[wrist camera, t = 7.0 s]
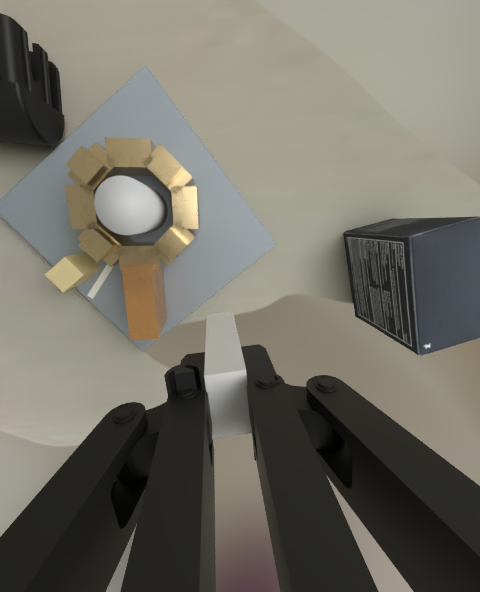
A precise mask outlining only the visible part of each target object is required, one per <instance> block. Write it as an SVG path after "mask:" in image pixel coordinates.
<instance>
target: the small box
mask: <svg viewBox="0 0 480 592" xmlns="http://www.w3.org/2000/svg"><path fill="white" fill-rule="evenodd" d="M344 238H345V246H346V253H347V260H348V267H349V274H350V281H351V288H352V295H353V303H354V309H355V316H356V317H357V318H359V319H361V320H363V321H365V322H366V323H368V324H370V325H371V326H373V327H375V328H376V329H378V330H379V331H381V332H383V333H384V334H385V335H387V336H389V337H390V338H392V339H394V340H395V341H397V342H399V343H400V344H402V345H404V346H405V347H407V348H408V349H410V350H411V351H413V352H415V353H416V354H417V355H419V356H423V355H426V354H430V353H433V352H436V351H439V350H443V349H446V348H449V347H452V346H456V345H459V344H463V343H466V342H469V341H472V340H475V339H478V338H480V217H454V218H409V219H390V220H386V221H382V222H379V223H375V224H371V225H368V226H364V227H360V228H356V229H353V230H349V231H346V232H345V233H344Z"/></svg>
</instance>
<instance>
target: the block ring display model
mask: <svg viewBox="0 0 480 592" xmlns="http://www.w3.org/2000/svg"><path fill="white" fill-rule="evenodd" d="M104 137H108V138H142V139H151V141H152V142H153V143H154V145H155V146H156V147H157V146H158V145H159V144H161V145H162V146H163V147H164V148H165V149H166V150H167V151H168V152H169V153H170V154H171V155H172V156H173V157H174V158H175V159H176V160H177V161H178V162H179V163H180V165H181V166H182V167H183V168H184V169H185V170H186V171H187V172H188V173H189V174H190V175H191V176H192V177H193V179H194V182H195V184H194V185H193V186H196V187H197V189H198V191H199V215H200V228H199V229H191V230H192V231H193V232H194V233H196V234H197V236H196V237H195V238H194V239H193V240H192V241H191V243H190V244H189V245H188V246H187V247H186V248H185V249H184V250H183V251H182V252H181V253H180V254H179V255H178V256H177V257H176V258H175V260H174V261H173V262H172V263H171V264H170V265H169V266H168V265H167V264H165V265H164V266H163V273H164V287H165V300H166V313H167V320H166V323H165V325H164V327H163V329H162V332H161V334H160V336H159V338H160V337H161V336H163V335H164V334H165V333H166V332H168V331H169V330H170V329H171V328H173V327H174V326H175V325H176V324H178V323H179V322H180V321H181V320H183V319H184V318H185V317H186V316H188V315H189V314H190V313H191V312H193V311H194V310H195V309H196V308H198V307H199V306H200V305H201V304H203V303H204V302H205V301H206V300H208V299H209V298H210V297H211V296H212V295H214V294H215V293H216V292H217V291H219V290H220V289H221V288H222V287H224V286H225V285H226V284H227V283H229V282H230V281H231V280H232V279H234V278H235V277H236V276H237V275H239V274H240V273H241V272H242V271H244V270H245V269H246V268H247V267H249V266H250V265H251V264H252V263H254V262H255V261H256V260H257V259H258V258H260V257H261V256H262V255H263V254H265V253H266V252H267V251H268V250H270V249H271V248H272V247H273V246H275V245H276V244H277V243H276V241H275V240H274V239H273V237H272V236H271V235H270V233H269V232H268V231H267V229H266V228H265V227H264V225H263V224H262V222H261V221H260V220H259V218H258V217H257V216H256V214H255V213H254V212H253V210H252V209H251V207H250V206H249V205H248V203H247V202H246V201H245V199H244V198H243V197H242V195H241V194H240V192H239V191H238V190H237V188H236V187H235V186H234V184H233V183H232V182H231V180H230V179H229V178H228V176H227V175H226V173H225V172H224V171H223V169H222V168H221V167H220V165H219V164H218V163H217V161H216V160H215V158H214V157H213V156H212V154H211V153H210V152H209V150H208V149H207V148H206V146H205V145H204V143H203V142H202V141H201V139H200V138H199V137H198V135H197V134H196V133H195V131H194V130H193V129H192V127H191V126H190V124H189V123H188V122H187V120H186V119H185V118H184V116H183V115H182V114H181V112H180V111H179V109H178V108H177V107H176V105H175V104H174V103H173V101H172V100H171V99H170V97H169V96H168V94H167V93H166V92H165V90H164V89H163V88H162V86H161V85H160V84H159V82H158V81H157V79H156V78H155V77H154V75H153V74H152V73H151V71H150V70H149V69H148V67H147V66H144V67H143V68H142V69H141V70H140V71H139V72H138V73H137V74H136V75H135V76H134V77H133V78H132V79H130V80H129V81H128V82H127V83H126V84H125V85H124V86H123V87H122V88H121V89H120V90H119V91H117V92H116V93H115V94H114V95H113V96H112V97H111V98H110V99H109V100H108V101H107V102H106V103H104V104H103V105H102V106H101V107H100V108H99V109H98V110H97V111H96V112H95V113H94V114H93V115H92V116H90V117H89V118H88V119H87V120H86V121H85V122H84V123H83V124H82V125H81V126H80V127H79V128H77V129H76V130H75V131H74V132H73V133H72V134H71V135H70V136H69V137H68V138H67V139H66V140H64V141H63V142H62V143H61V144H60V145H59V146H58V147H57V148H56V149H55V150H54V151H53V152H52V153H50V154H49V155H48V156H47V157H46V158H45V159H44V160H43V161H42V162H41V163H40V164H39V165H37V166H36V167H35V168H34V169H33V170H32V171H31V172H30V173H29V174H28V175H27V176H26V177H24V178H23V179H22V180H21V181H20V182H19V183H18V184H17V185H16V186H15V187H14V188H13V189H12V190H10V191H9V192H8V193H7V194H6V195H5V196H4V197H3V198H2V199H1V200H0V216H1V217H2V218H3V219H4V220H5V221H6V222H8V223H9V224H10V225H11V226H12V227H13V228H14V229H15V230H16V231H17V232H18V233H19V234H20V235H21V236H22V237H23V238H24V239H25V240H26V241H27V242H28V243H29V244H31V245H32V246H33V247H34V248H35V249H36V250H37V251H38V252H39V253H40V254H41V255H42V256H43V257H44V258H45V259H46V260H47V261H48V262H49V263H50V264H51V265H52V266H54V267H53V268H52V269H50V270H49V271H48V272H47V273H46V274H45V276H46V277H47V278H48V279H49V280H50V281H51V282H52V283H53V284H55V285H56V286H57V287H58V288H59V289H60V290H61V291H62V292H63V293H64V292H66V291H68V290H70V289H72V288H74V287H75V288H77V289H78V290H79V291H80V292H81V293H82V294H83V295H84V296H85V297H86V298H87V299H88V300H89V301H90V302H91V303H92V304H93V305H94V306H95V307H96V308H97V309H98V310H99V311H101V312H102V313H103V314H104V315H105V316H106V317H107V318H108V319H109V320H110V321H111V322H112V323H113V324H114V325H115V326H116V327H117V328H118V329H119V330H120V331H121V332H122V333H124V334H125V335H126V336H127V337H128V338H129V339H130V337H129V328H128V319H127V311H126V302H125V293H124V285H123V276H122V270H120V265H119V263H118V264H116V265H114V266H109V265H108V264H107V263H106V262H105V261H103V260H102V261H99V262H97V261H96V260H94V259H93V258H92V257H91V256H90V255H88V254H87V253H86V252H85V251H84V250H82V249H81V248H80V247H79V246H78V245H79V244H80V243H81V241H80V240H78V239H77V238H78V237H79V235H80V234H81V233H82V232H83V231H84V230H85V229H72V228H71V222H70V215H69V209H68V203H67V196H66V190H65V185H78V184H77V183H76V182H74V181H73V180H72V179H71V178H70V177H69V176H68V175H67V174H68V173H69V172H70V171H71V170H70V169H69V168H68V167H67V166H66V165H65V164H66V163H67V162H68V161H69V160H70V158H71V157H72V156H73V155H74V154H75V152H76V151H77V150H78V149H79V148H80V146H81V145H82V146H83V147H85V148H87V149H89V148H90V147H91V146H92V145H93V143H94V142H97V143H98V144H100V145H101V146H103V147H104V148H105V149H106V146H105V138H104ZM94 207H95V211H96V214H97V216H98V218H99V220H100V221H101V222H102V224H103V225H104V226H105V227H107V228H108V229H109V230H111V231H113V232H115V233H117V234H121V235H128V236H129V237H130V238H131V239H132V240H133V241H134V242H157V241H158V240H159V239H160V238H161V237H162V236H163V234H164V233H165V232H166V231H167V230H168V229H169V228H170V227H171V226H172V225H173V208H172V192H171V191H170V190H169V189H168V188H167V187H166V186H165V185H164V184H163V183H162V182H161V181H160V180H159V179H158V178H157V177H156V176H155V175H128V176H113V177H110V178H108V179H106V180H105V181H103V182H102V183H101V184H100V186H99V187H98V189H97V191H96V193H95V198H94ZM159 338H158V339H159ZM158 339H148V340H131V341H132V342H133V343H134V344H135V345H136V346H137V347H138V348H139V349H140V350H141V351H142V352H143V351H144V350H145V349H146V348H148V347H149V346H150V345H152V344H153V343H154V342H155V341H157V340H158Z"/></svg>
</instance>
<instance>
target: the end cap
mask: <svg viewBox="0 0 480 592" xmlns="http://www.w3.org/2000/svg"><path fill="white" fill-rule="evenodd" d="M32 46H33V52H30V51H29V47H28V37H27V32H26V31H25V30H24V29H23V28H22V27H21V26H20V25H19V24H18V23H17V22H16V21H15V20H14V19H12V18H11V17H9V16H7V15H4V14H1V13H0V141H7V142H16V143H25V144H34V145H43V146H54V145H56V144H57V143H58V142H59V141H60V140H61V138H62V135H63V130H64V115H63V114H62V103H61V90H60V77H59V71H58V68H57V67H56V66H55V65H54V64H53V63H52V62H50V61H48V54H47V53H46V52H45V51H44V50H43V48H42V47H41V46H40V45H39V44H36V43H32Z"/></svg>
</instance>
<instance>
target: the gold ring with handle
mask: <svg viewBox="0 0 480 592" xmlns="http://www.w3.org/2000/svg"><path fill="white" fill-rule="evenodd" d="M104 138H105V146H106V149H105V148H104V147H103V146H101V145H100V144H98V143H97V142H94V143H93V145H92V146H91V147H90V148H89V149H87V148H85V147H83V146H82V145H81V146H80V148H79V149H78V150H77V151H76V152H75V154H74V155H73V156H72V157H71V158H70V160H69V161H68V162H67V163H66V164H65V165H66V166H67V167H68V168H69V169H70V170H71V171H70V172H69V173H68V174H67V175H68V176H69V177H70V178H71V179H72V180H73V181H74V182H76V183H77V184H78V185H65V190H66V196H67V203H68V209H69V215H70V222H71V228H72V229H85V230H84V231H83V232H82V233H81V234H80V235H79V237H78V238H77V239H78V240H80V241H81V243H80V244H79V245H78V246H79V247H80V248H81V249H82V250H84V251H85V252H86V253H87V254H88V255H90V256H91V257H92V258H93V259H94V260H96V261H97V262H99V261H102V260H103V261H105V262H106V263H107V264H108V265H109V266H114V265H116V264H118V263H119V265H120V270H122V276H123V285H124V293H125V302H126V311H127V319H128V328H129V337H130V340H148V339H158V338H159V336H160V334H161V332H162V329H163V327H164V325H165V323H166V320H167V313H166V300H165V287H164V273H163V266H164V265H165V264H167V265H168V266H169V265H170V264H171V263H172V262H173V261H174V260H175V258H176V257H177V256H178V255H179V254H180V253H181V252H182V251H183V250H184V249H185V248H186V247H187V246H188V245H189V244H190V243H191V241H192V240H193V239H194V238H195V237H196V236H197V234H196V233H194V232H193V231H192V230H191V229H199V228H200V215H199V191H198V189H197V187H196V186H193V185H194V184H195V182H194V179H193V177H192V176H191V175H190V174H189V173H188V172H187V171H186V170H185V169H184V168H183V167H182V166H181V165H180V163H179V162H178V161H177V160H176V159H175V158H174V157H173V156H172V155H171V154H170V153H169V152H168V151H167V150H166V149H165V148H164V147H163V146H162V145H161V144H159V145H158V146H157V147H156V146H155V145H154V143H153V142H152V141H151V139H142V138H108V137H104ZM128 175H155V176H156V177H157V178H158V179H159V180H160V181H161V182H162V183H163V184H164V185H165V186H166V187H167V188H168V189H169V190H170V191H171V192H172V208H173V225H172V226H171V227H170V228H169V229H168V230H167V231H166V232H165V233H164V234H163V236H162V237H161V238H160V239H159V240H158V241H157V242H134V241H133V240H132V239H131V238H130V237H129V236H128V235H121V234H117V233H115V232H113V231H111V230H109V229H108V228H107V227H105V226H104V225H103V224H102V222H101V221H100V220H99V218H98V216H97V214H96V211H95V207H94V198H95V193H96V191H97V189H98V187H99V186H100V184H101V183H102V182H103V181H105V180H106V179H108V178H110V177H113V176H128Z"/></svg>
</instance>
